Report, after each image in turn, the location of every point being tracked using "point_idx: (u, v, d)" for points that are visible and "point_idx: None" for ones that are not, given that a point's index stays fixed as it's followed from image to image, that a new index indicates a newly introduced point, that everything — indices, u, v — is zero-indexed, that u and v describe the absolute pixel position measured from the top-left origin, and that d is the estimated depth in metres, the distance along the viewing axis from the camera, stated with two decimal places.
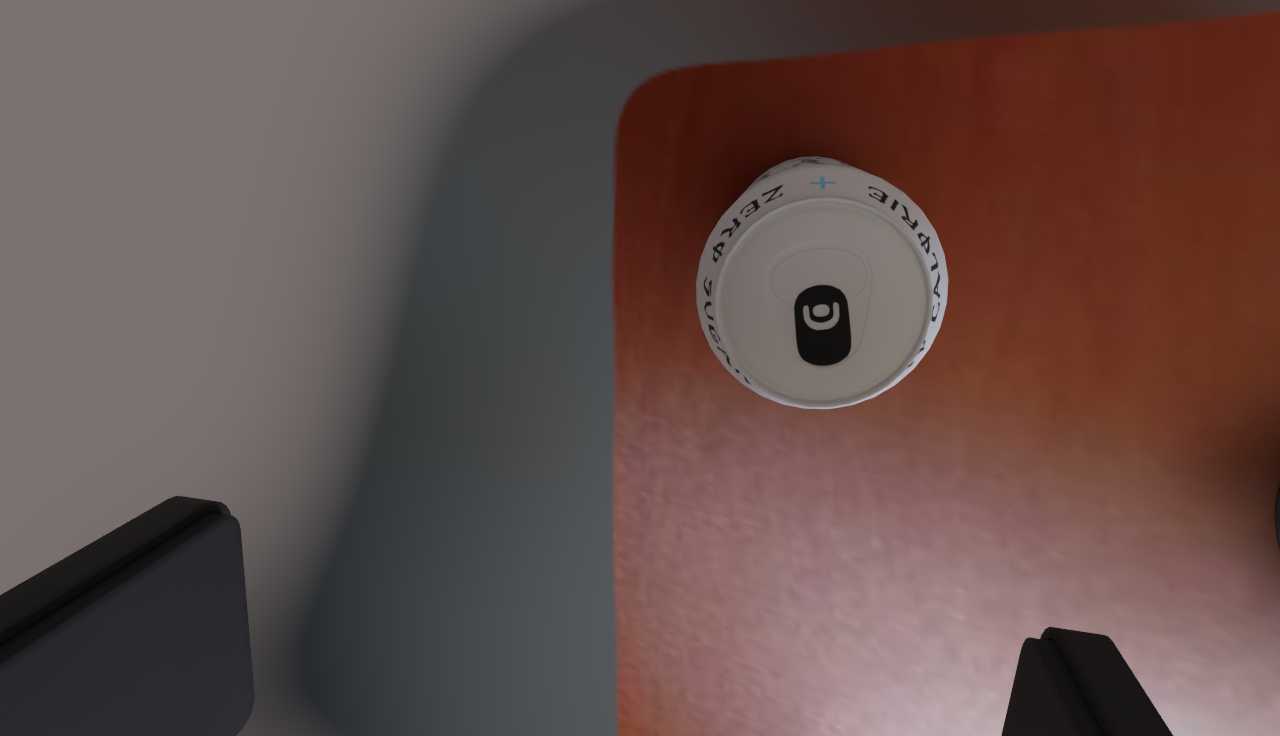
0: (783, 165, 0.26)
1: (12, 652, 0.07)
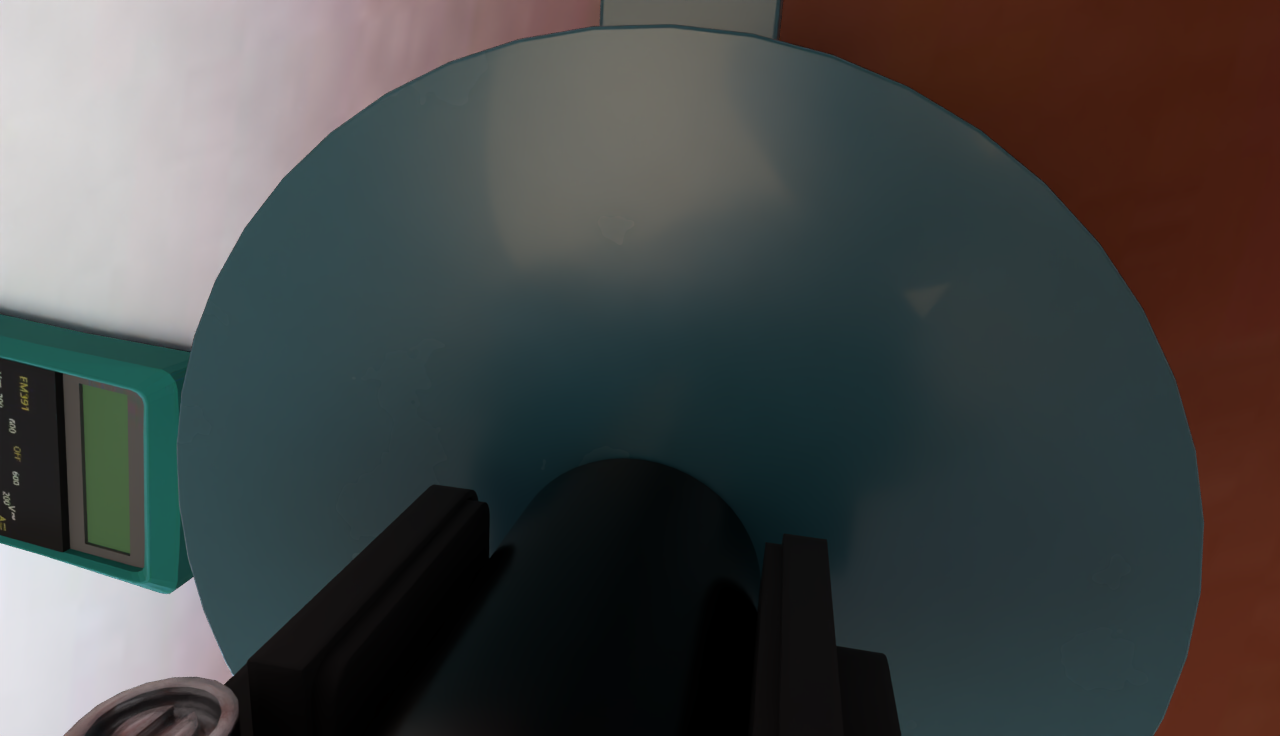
0: None
1: (375, 621, 0.08)
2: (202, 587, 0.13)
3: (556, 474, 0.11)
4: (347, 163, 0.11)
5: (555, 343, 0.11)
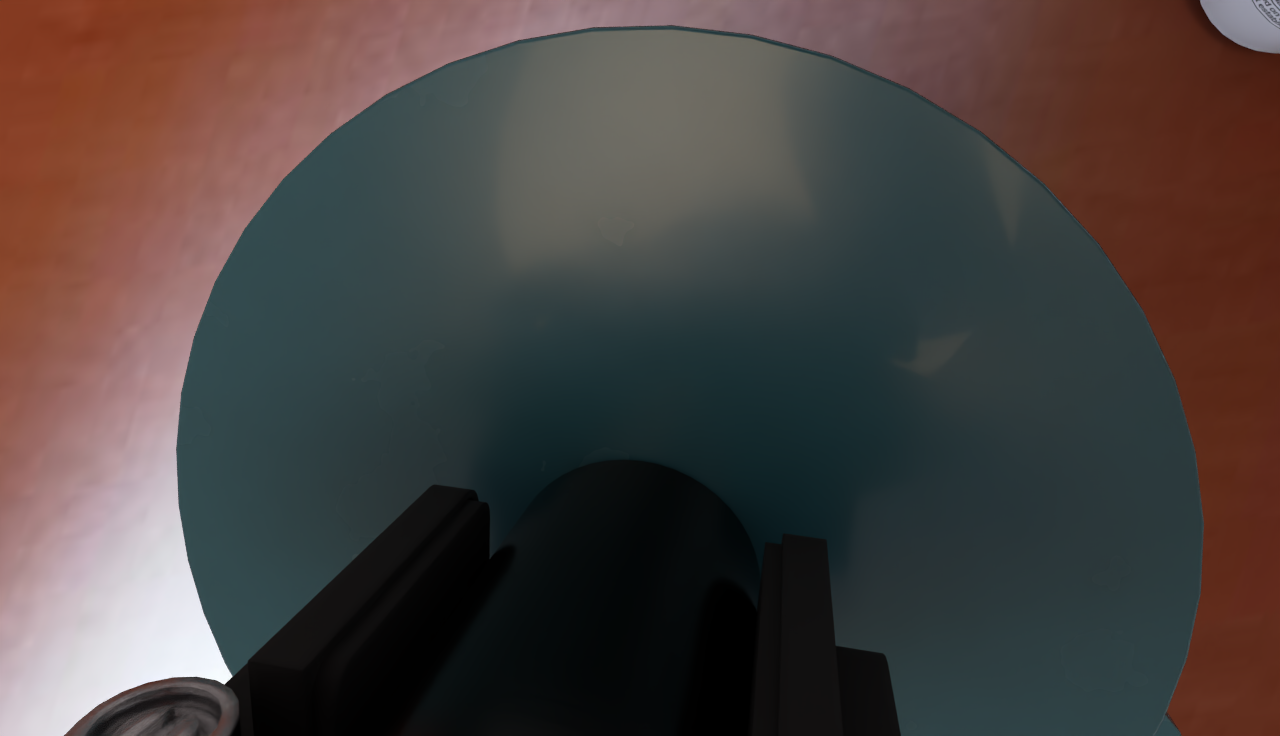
0: None
1: (375, 621, 0.08)
2: (202, 589, 0.13)
3: (556, 475, 0.11)
4: (347, 164, 0.11)
5: (555, 344, 0.11)
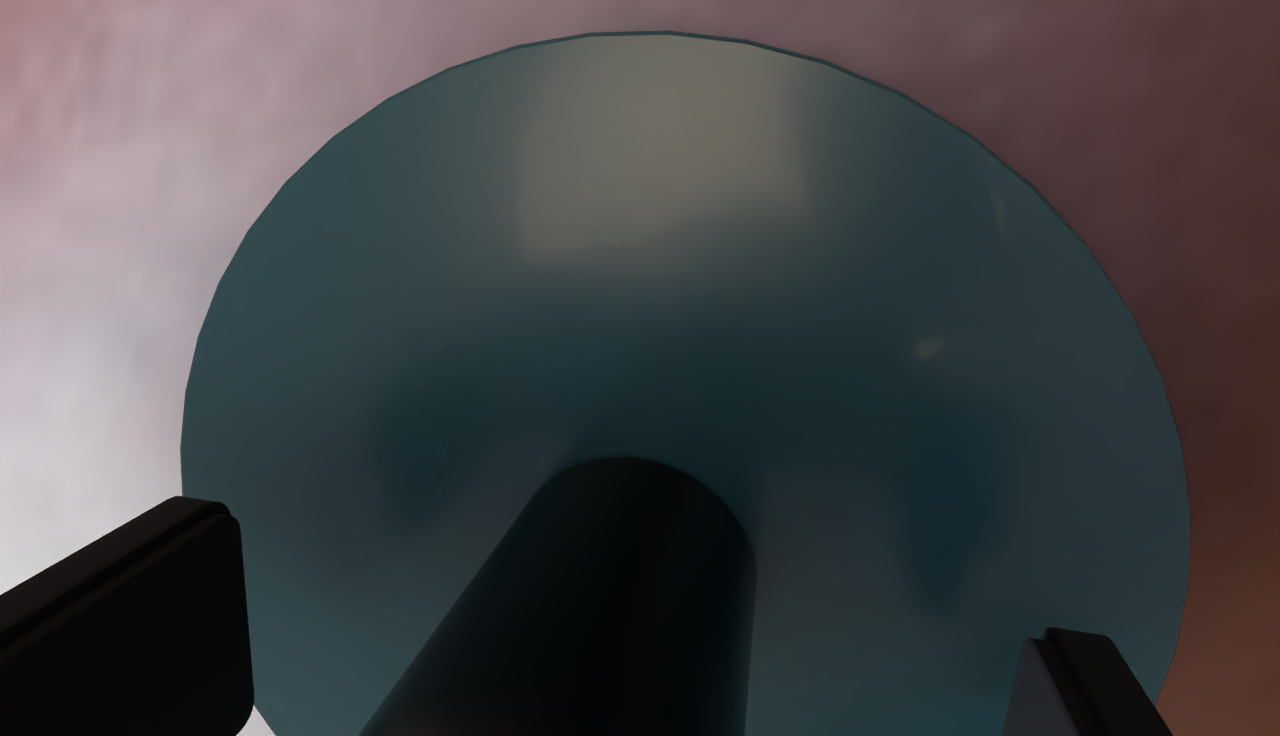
0: None
1: (12, 652, 0.07)
2: None
3: (554, 473, 0.11)
4: (349, 167, 0.11)
5: (554, 343, 0.11)
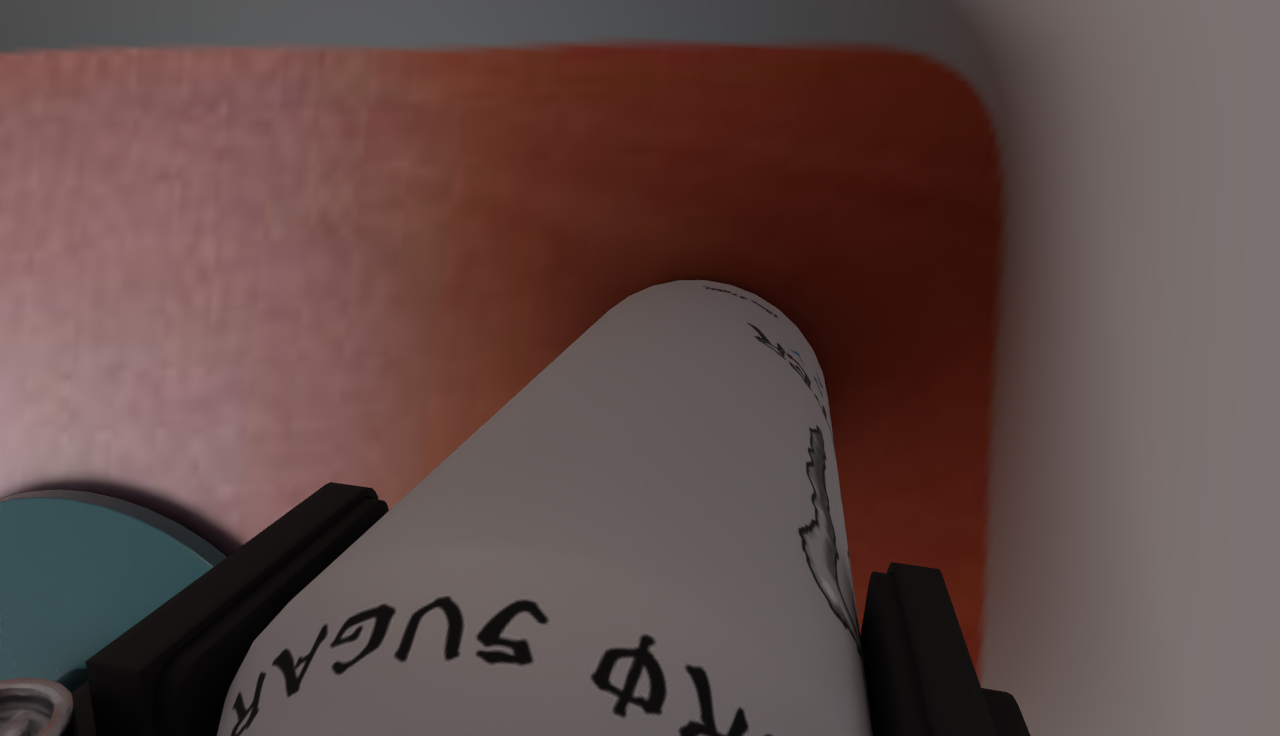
0: (834, 466, 0.13)
1: (234, 620, 0.08)
2: None
3: (62, 674, 0.24)
4: None
5: (52, 618, 0.24)
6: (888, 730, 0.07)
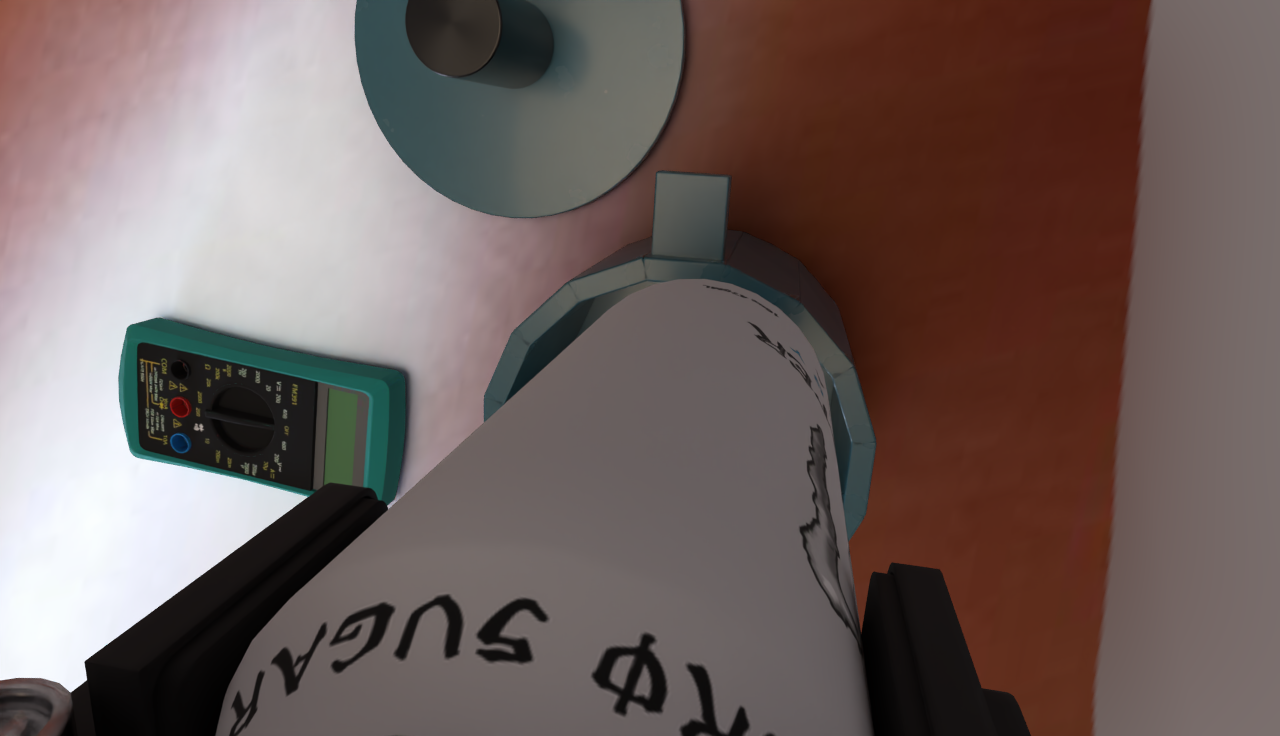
0: (835, 465, 0.13)
1: (234, 621, 0.08)
2: (361, 72, 0.36)
3: None
4: None
5: None
6: (889, 730, 0.07)
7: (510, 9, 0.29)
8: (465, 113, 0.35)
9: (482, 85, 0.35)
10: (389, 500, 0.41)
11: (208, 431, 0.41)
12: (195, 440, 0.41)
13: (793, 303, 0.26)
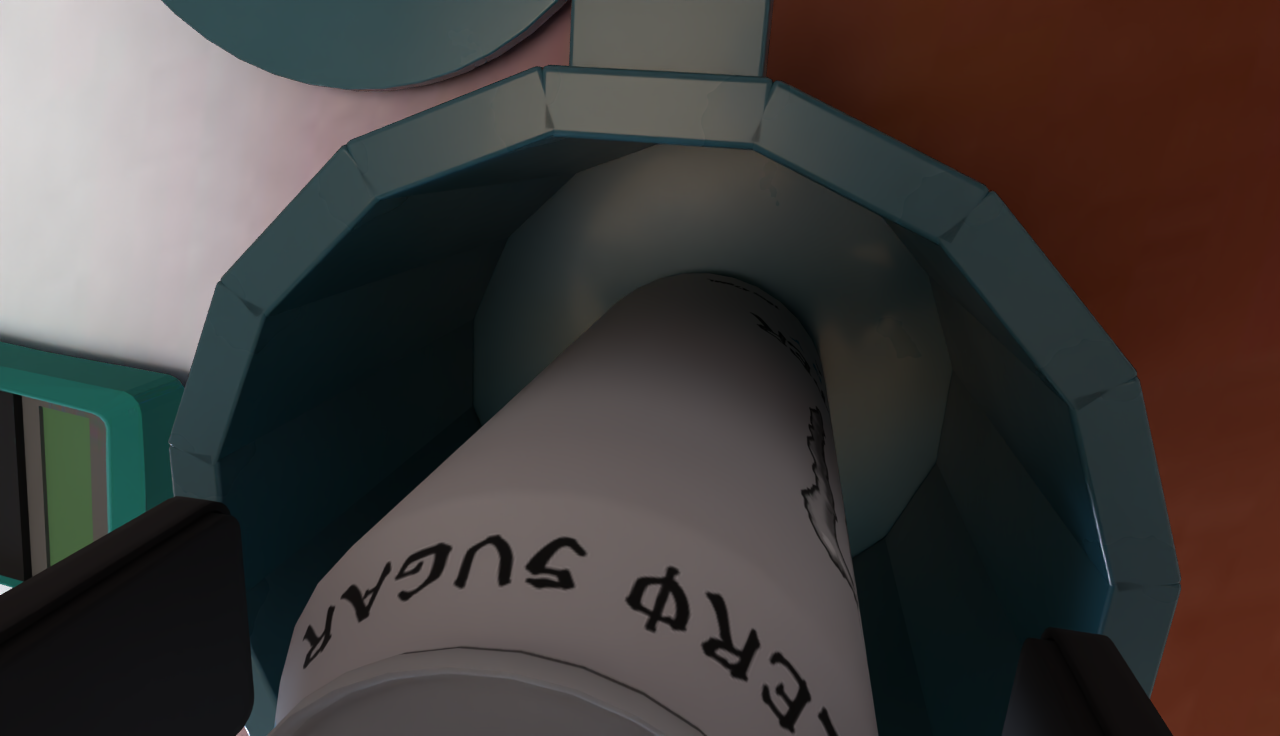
0: (832, 444, 0.14)
1: (12, 652, 0.07)
2: None
3: None
4: None
5: None
6: None
7: None
8: None
9: None
10: None
11: None
12: None
13: (971, 192, 0.09)
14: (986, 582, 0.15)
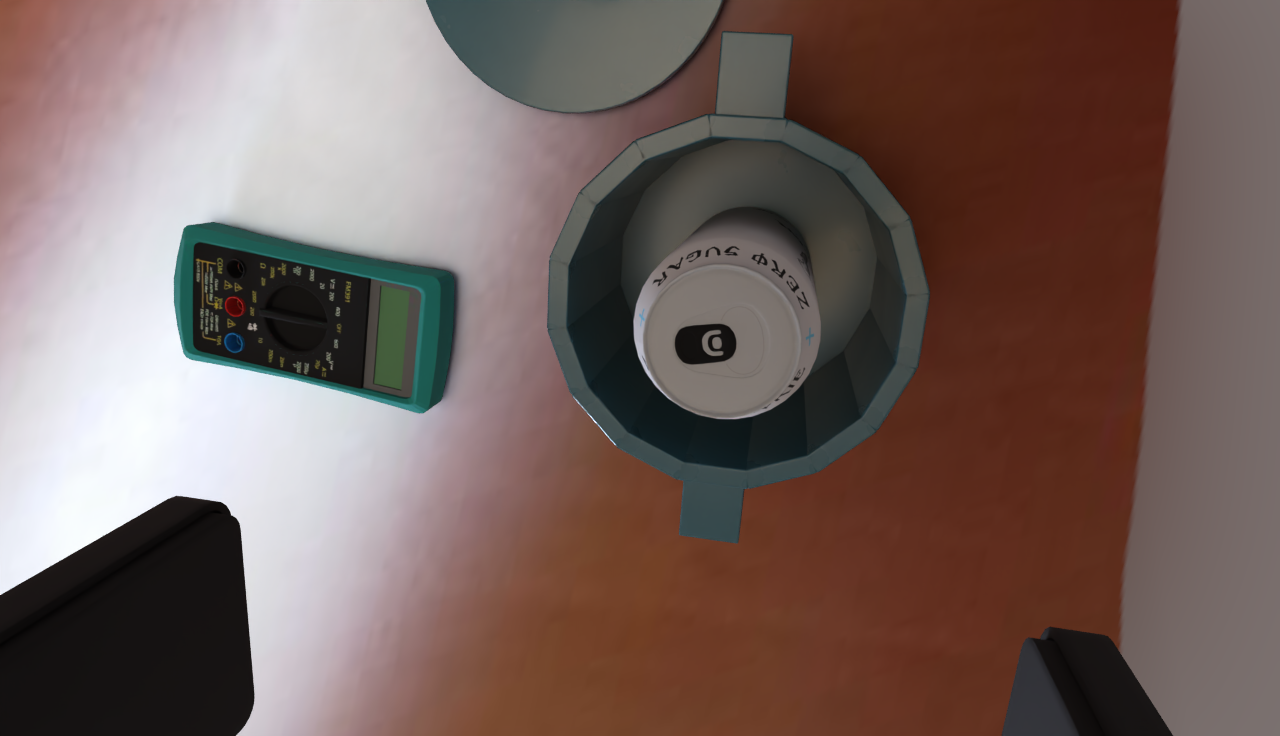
0: (811, 269, 0.32)
1: (13, 652, 0.07)
2: None
3: None
4: None
5: None
6: None
7: None
8: (521, 8, 0.37)
9: None
10: (436, 400, 0.43)
11: (262, 331, 0.42)
12: (248, 340, 0.42)
13: (853, 156, 0.27)
14: (881, 336, 0.33)
